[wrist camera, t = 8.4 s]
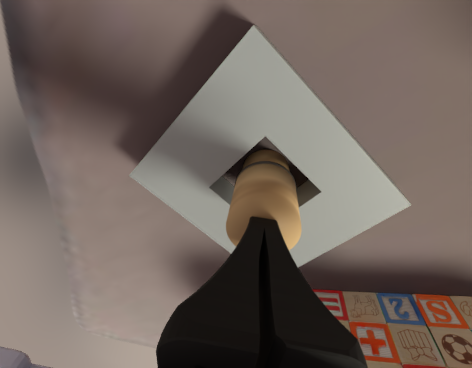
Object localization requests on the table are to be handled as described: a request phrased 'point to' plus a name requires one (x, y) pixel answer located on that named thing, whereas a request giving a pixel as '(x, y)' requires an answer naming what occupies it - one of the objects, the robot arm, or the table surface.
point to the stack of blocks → (406, 327)
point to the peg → (265, 197)
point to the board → (283, 137)
